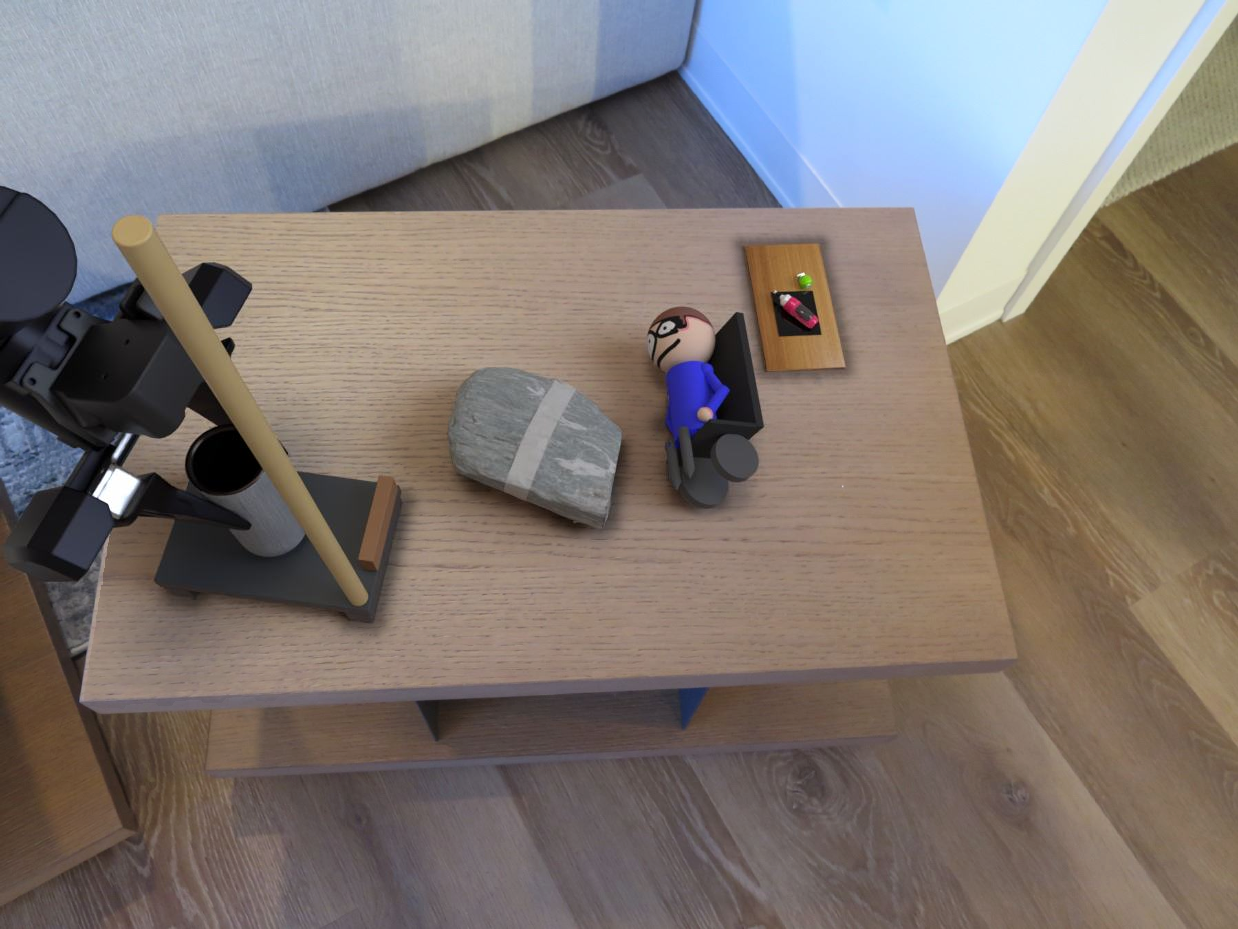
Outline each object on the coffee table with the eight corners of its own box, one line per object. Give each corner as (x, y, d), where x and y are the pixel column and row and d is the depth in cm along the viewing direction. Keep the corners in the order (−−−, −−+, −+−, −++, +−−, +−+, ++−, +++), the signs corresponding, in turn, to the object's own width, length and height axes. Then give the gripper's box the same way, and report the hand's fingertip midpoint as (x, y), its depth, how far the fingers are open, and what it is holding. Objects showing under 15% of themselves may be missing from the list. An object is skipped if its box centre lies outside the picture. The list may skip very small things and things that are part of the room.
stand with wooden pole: (169, 595, 64) (-324, 188, 28) (210, 474, 68) (-177, -20, 32) (376, 623, 64) (149, 254, 28) (405, 501, 68) (238, 39, 32)
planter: (322, 528, 63) (284, 462, 53) (263, 571, 61) (214, 511, 52) (282, 480, 64) (237, 407, 55) (223, 522, 62) (167, 454, 53)
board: (818, 244, 80) (822, 233, 79) (844, 368, 75) (850, 358, 74) (745, 247, 80) (748, 235, 78) (767, 371, 75) (770, 361, 73)
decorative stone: (430, 486, 69) (420, 450, 63) (483, 372, 73) (477, 328, 68) (602, 544, 68) (606, 511, 62) (645, 424, 72) (652, 384, 67)
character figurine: (661, 520, 69) (643, 344, 75) (761, 512, 69) (734, 337, 76) (664, 475, 62) (644, 285, 68) (775, 466, 62) (745, 277, 69)
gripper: (-75, 491, 38) (259, 645, 47) (159, 152, 46) (405, 342, 55) (-129, 506, 45) (167, 637, 55) (79, 213, 53) (307, 371, 63)
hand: (266, 492), depth 57 cm, fingers closed on planter, 4 cm apart
